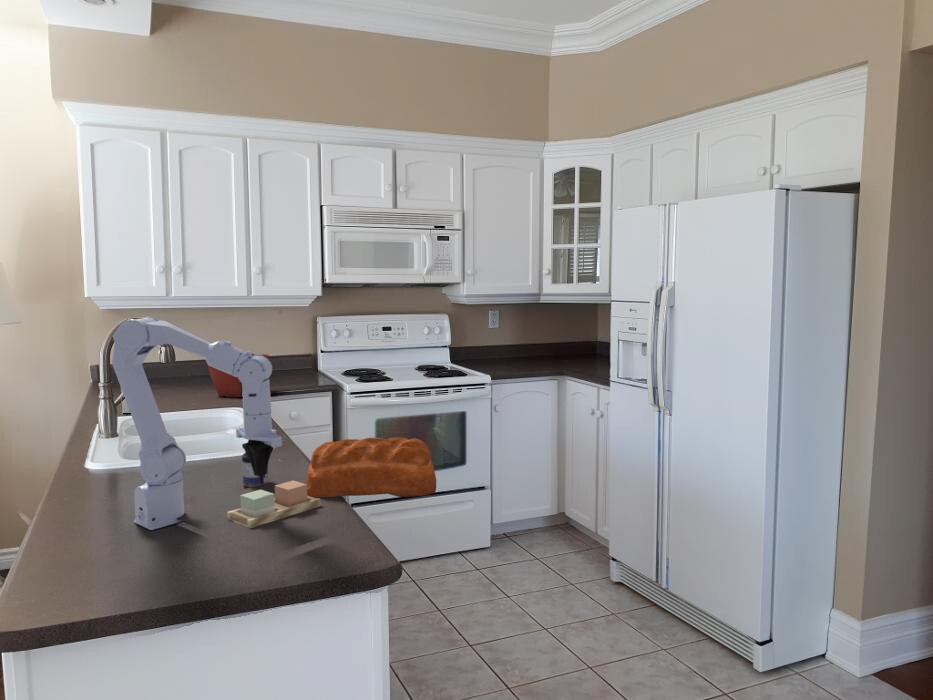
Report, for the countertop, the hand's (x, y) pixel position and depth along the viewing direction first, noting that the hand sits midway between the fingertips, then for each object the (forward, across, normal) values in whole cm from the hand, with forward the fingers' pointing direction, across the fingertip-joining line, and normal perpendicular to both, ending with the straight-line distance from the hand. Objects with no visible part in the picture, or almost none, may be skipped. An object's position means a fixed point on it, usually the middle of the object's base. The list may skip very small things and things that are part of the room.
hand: (260, 474), depth 157 cm
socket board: (+10, -1, -3) cm, 10 cm away
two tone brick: (+9, -1, +2) cm, 9 cm away
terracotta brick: (+9, -1, -7) cm, 11 cm away
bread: (+10, -2, -29) cm, 31 cm away
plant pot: (+10, +145, -82) cm, 167 cm away
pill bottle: (+10, +22, -12) cm, 27 cm away
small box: (+10, +143, -36) cm, 148 cm away
